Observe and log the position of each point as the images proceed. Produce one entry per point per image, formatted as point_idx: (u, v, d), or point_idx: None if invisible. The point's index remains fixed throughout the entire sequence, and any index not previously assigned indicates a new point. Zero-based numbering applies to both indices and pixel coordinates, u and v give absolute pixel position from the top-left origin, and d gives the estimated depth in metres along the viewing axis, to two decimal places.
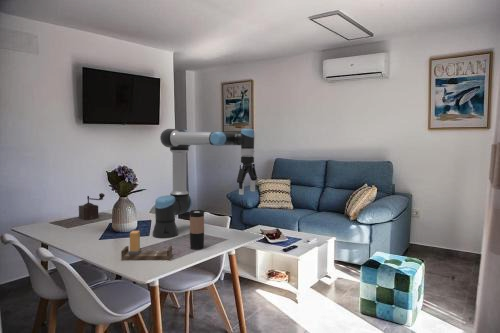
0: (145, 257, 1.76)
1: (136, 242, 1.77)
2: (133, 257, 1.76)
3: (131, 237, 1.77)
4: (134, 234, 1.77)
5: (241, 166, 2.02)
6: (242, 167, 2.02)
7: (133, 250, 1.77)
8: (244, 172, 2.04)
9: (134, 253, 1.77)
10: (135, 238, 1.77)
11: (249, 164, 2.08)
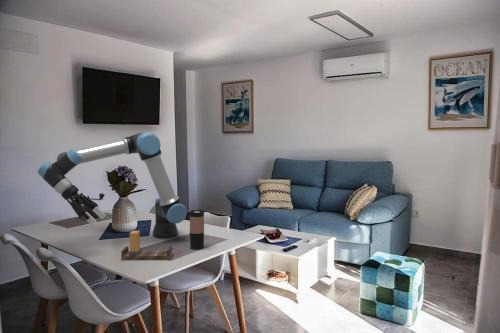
0: (145, 257, 1.76)
1: (136, 242, 1.77)
2: (133, 257, 1.76)
3: (131, 237, 1.77)
4: (134, 234, 1.77)
5: None
6: None
7: (133, 250, 1.77)
8: None
9: (134, 253, 1.77)
10: (135, 238, 1.77)
11: None
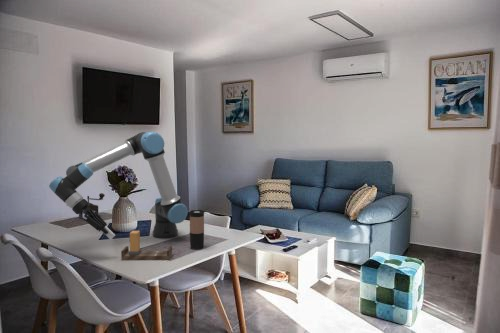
0: (145, 257, 1.76)
1: (136, 242, 1.77)
2: (133, 257, 1.76)
3: (131, 237, 1.77)
4: (134, 234, 1.77)
5: None
6: None
7: (133, 250, 1.77)
8: None
9: (134, 253, 1.77)
10: (135, 238, 1.77)
11: None
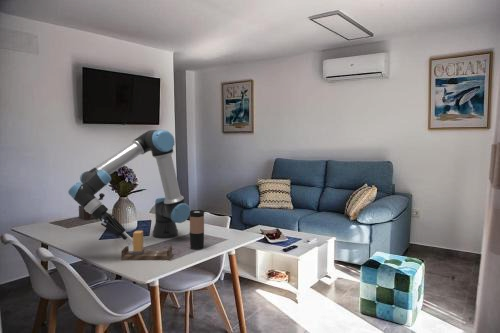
0: (145, 257, 1.76)
1: (139, 242, 1.77)
2: (133, 257, 1.76)
3: (134, 237, 1.77)
4: (138, 234, 1.77)
5: None
6: None
7: (136, 250, 1.77)
8: None
9: (137, 253, 1.77)
10: (138, 238, 1.77)
11: None
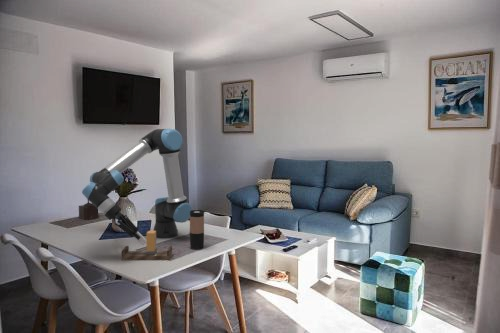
0: (145, 257, 1.76)
1: (153, 242, 1.77)
2: (133, 257, 1.76)
3: (148, 237, 1.77)
4: (151, 234, 1.77)
5: None
6: None
7: (150, 250, 1.78)
8: None
9: (151, 253, 1.77)
10: (152, 238, 1.77)
11: None
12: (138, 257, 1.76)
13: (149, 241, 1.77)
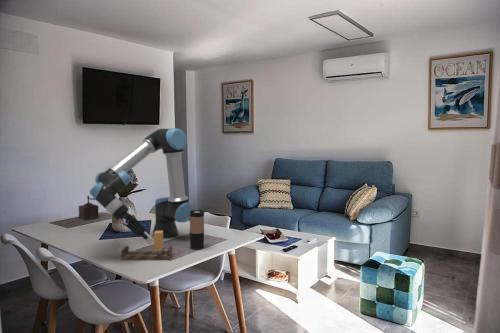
0: (145, 257, 1.76)
1: (160, 242, 1.78)
2: (133, 257, 1.76)
3: (155, 237, 1.77)
4: (158, 233, 1.77)
5: None
6: None
7: (157, 250, 1.78)
8: None
9: (158, 253, 1.77)
10: (159, 238, 1.77)
11: None
12: (138, 257, 1.76)
13: (156, 241, 1.77)
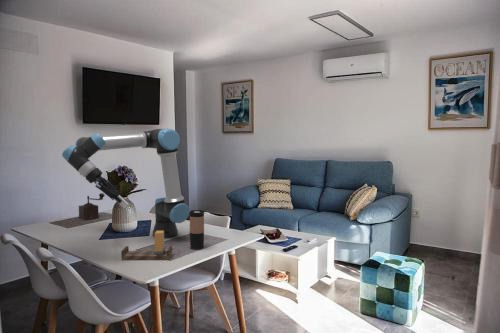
0: (145, 257, 1.76)
1: (161, 242, 1.78)
2: (133, 257, 1.76)
3: (156, 237, 1.77)
4: (159, 233, 1.77)
5: None
6: None
7: (158, 250, 1.78)
8: None
9: (159, 253, 1.77)
10: (160, 238, 1.77)
11: None
12: (138, 257, 1.76)
13: (157, 241, 1.77)
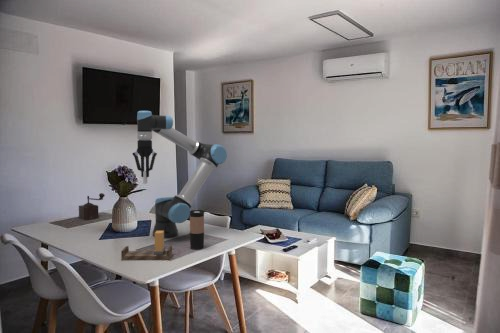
0: (145, 257, 1.76)
1: (161, 242, 1.78)
2: (133, 257, 1.76)
3: (156, 237, 1.77)
4: (159, 233, 1.77)
5: None
6: None
7: (158, 250, 1.78)
8: (141, 159, 1.96)
9: (159, 253, 1.77)
10: (160, 238, 1.77)
11: (145, 148, 1.95)
12: (138, 257, 1.76)
13: (157, 241, 1.77)
